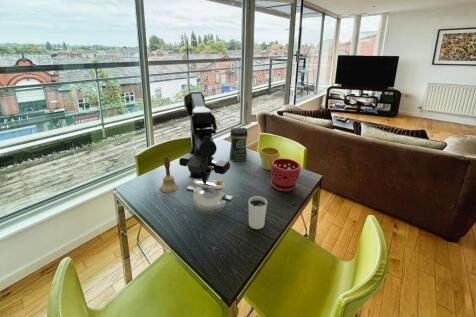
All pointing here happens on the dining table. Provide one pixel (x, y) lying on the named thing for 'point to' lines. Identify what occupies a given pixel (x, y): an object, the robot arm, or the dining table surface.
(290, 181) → the plant pot
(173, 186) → the hand bell
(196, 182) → the cooker lid
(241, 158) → the coffee jar
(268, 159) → the plant pot
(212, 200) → the cooker pot
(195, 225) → the dining table surface
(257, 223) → the white cup
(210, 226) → the dining table surface
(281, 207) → the dining table surface
